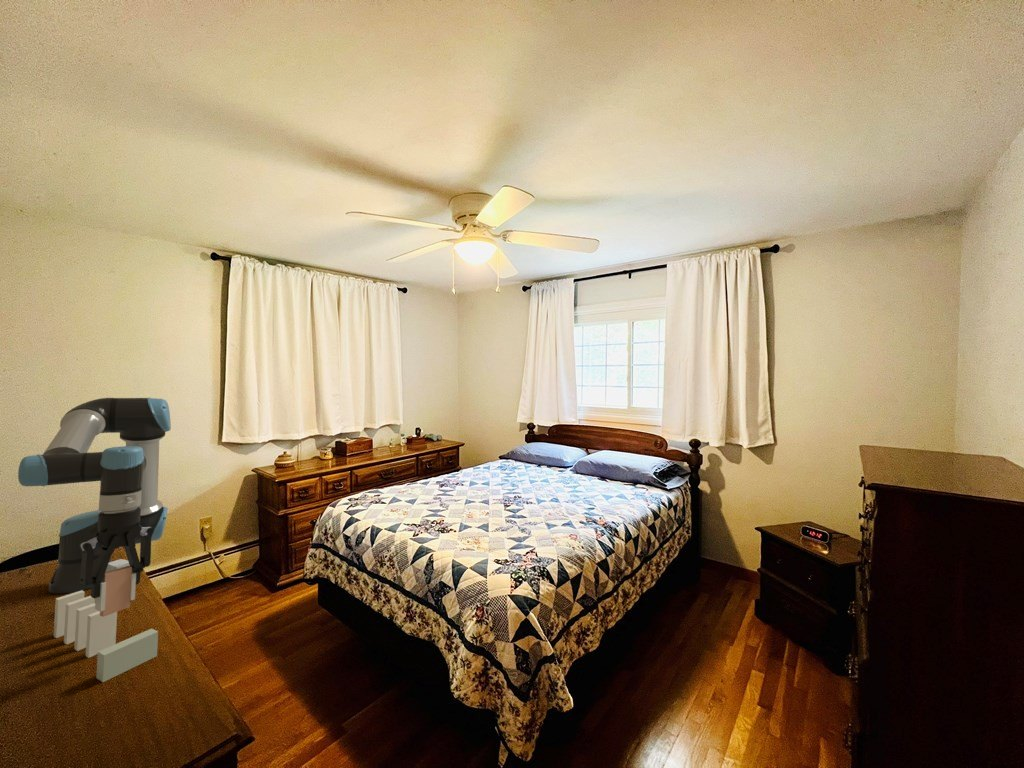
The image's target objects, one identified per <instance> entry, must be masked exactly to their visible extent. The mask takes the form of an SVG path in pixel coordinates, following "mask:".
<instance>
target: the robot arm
mask: <svg viewBox="0 0 1024 768" xmlns="http://www.w3.org/2000/svg"><path fill="white" fill-rule="evenodd" d="M170 413H171V412H170V406H169V404H168V401H167V400H166V399H163V398H154V397H153V398H152V397H102V398H97V399H92V400H89V401H86V402H83V403H81V404H79V405H77V406H75V407H73V408H71V409H70V410H68V411H67V412H66V413H65V414H64V415H63V416H62V417H61V419H60V423H59V427H60V428H59V430H58V432H57V433H56V435H55V436H54V437H53V439H52V441H50V443H49V444H48V446H47V448H46V449H45V451H44V452H43V453H42V454H40V453H38V454H35V455H27V456H24V457H23V458H22V459H21V461H20V462H19V465H18V472H17V479H18V483H19V484H20V485H21V486H22V487H26V488H27V487H46V486H54V485H67V484H69V485H70V484H79V483H90V482H91V483H92V482H100V487H99V488H100V490H99V499H98V510H96V509H95V510H91V511H86V512H83V513H79V514H76V515H74V516H70V517H69V518H66V519H65V520H64V521H62V522H61V524H60V527H59V528H60V529H59V534H58V537H59V541H58V544H59V545H58V562H57V567H56V568H55V570H54V573H53V575H52V577H51V578H50V581H49V583H48V592H49V593H51V594H72V593H75V592H78V591H81V590H82V591H84V590H89V589H90V596H91V597H92V598H94V599H95V609H96V610H98V611H100V612H101V611H104V610H105V595H106V582H103V581H102V580H103V577H104V574H105V572H106V569H107V566H108V563H109V562H112V560H111V557H112V555H113V554H114V552H115V550H116V549H118V548H121V547H123V549H124V552H125V554H126V557H127V561H129V565H130V566H131V567H132V573H131V590H130V601H135V600H136V585H138V584H140V583H141V573H142V572H143V571H144V569H145V568H146V567H147V568H148V567H149V566H150V565H151V558H152V555H151V554H152V542H153V541H158V540H159V539H160V540H161V538H162V536H163V534H164V532H165V531H164V530H165V527H166V521H167V515H168V511H169V510H168V507H167V506H163V505H164V503H163V502H162V501H160V500H158V494H159V493H158V492H159V490H158V489H159V466H160V465H159V461H160V440H162V439H163V438H164V437H165V436H166V433H168V432H170V431H171V428H172V425H171V414H170ZM106 433H108V434H111V433H112V434H114V433H115V434H117V433H118V434H119V439H120V440H122V441H124V442H125V446H123V445H122V446H112V447H108V448H105V449H103V451H96V452H95V451H94V452H92V451H91V452H88V451H89V450H90V448H91V447H92V444H93V442H94V440H95V438H96V437H97V436H98V435H100V434H106ZM138 544H140V545H139V546H140V547H139V549H140V550H139V551H140V552H139V555H138V551H137V549H136V546H137V545H138Z"/></svg>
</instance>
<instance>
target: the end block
mask: <svg viewBox="0 0 1024 768" xmlns="http://www.w3.org/2000/svg"><path fill="white" fill-rule="evenodd" d="M158 643H159V631H158V630H156V629H154V628H149V629H147V630H145V631H142V632H140V633H138V634H135V635H134V636H131V637H128V638H126V639H124V640H121V641H119V642H117V643H116V644H114V645H112V646H110V647H107V648H105V649H103V650H100V651H98V654H97V661H96V678H95V679H97V680H98V681H99V682H102V683H104V682H106V681H108V680H111V679H112V678H115V677H116V676H119V675H121V674H124V673H125V672H127V671H130V670H131V669H134V668H136V667H138V666H139V665H142V664H144V663H146V662H148V661H149V660H152V659H154V658H156V657H158Z"/></svg>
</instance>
